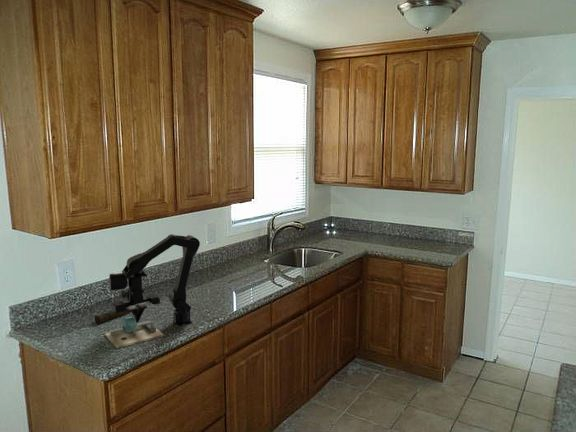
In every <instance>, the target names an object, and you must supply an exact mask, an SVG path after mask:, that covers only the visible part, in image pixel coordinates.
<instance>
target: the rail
mask: <svg viewBox="0 0 576 432" xmlns="http://www.w3.org/2000/svg"><path fill="white" fill-rule="evenodd" d="M150 323H152V321H150V320H146V321H142V322H138V323H137V326H136V330H140V329H144V328H145V325H146V324H150ZM108 333H110V336H111V337H112V336H116V335H120V334H124V333H126V331H125V327H123V326H121V327H118V328H114V329H111V330H110V329H109V332H108Z"/></svg>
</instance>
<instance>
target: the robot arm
mask: <svg viewBox="0 0 576 432" xmlns="http://www.w3.org/2000/svg"><path fill="white" fill-rule="evenodd" d="M174 246H178V247H182V257H181V262H180V267H179V271H178V274H177V278H176V283H175V286H174V288H170V289H169V295H168V296H167V298H168V301H169V303H170V305H172V307H173V308H174V310H173V314H172V316H173V317H172V318H173V320H172V322H173V323H174V324H175V325H177V326H178V327H181V326H184V325H185V326H186V325H189V324H192V323H193V321H192V320H191V309H192V306H191V305H190V304H189V303H188V302H187V290H186V289H187V285H188V281H189V280H188V279H189V277H190V276H189V275H190V272H191V268H192V264H193V260H194V259H193V258H194V257H195V255H196V254H197V253H198V251H199V248H200V246H201V241H199V239H198V238H196V237H195V236H194V235H189V234H188V235H186V236H185V235H177V234H168V236H167V237H165V238H164V239H162V240H160V241H159V242H158V243H156V244H155V245H153V246H151V247H150V248H148V249H147V250H145V251H143V252H140V253H137V254H135V255H133V256H130V257H129V258H128V259H127V260H126V265H125V267H123V269H122V271H121V272H120V273H109V276H108V277H109V278H108V289H109V291H110V292H113V291H118V290H120V291H119V295H120V299H124V300H125V301H127V302H123V301H122V300H120V301H115V302H113V303H112V304H111V309H112V311H113V310H114V311H115V312H116V313H119V312H123V311H125V310H126V308H127V309H128V310H129V311H130V313H131V314H132V317H133V318H134V319H135V322H136V323H137V324H138V323H140V320H141V319H142V318H141V317H142V315H143V313H144V312H145V309H148V306H147V304H148V303H150V304H152V306H155V305H159V304H160V303H161V299H160V297H159V296H158V295H156V294H155V293H153V294H149V295H146V297H145V298H144V293H145V290H144V285H143V283H144V282H143V281H144V280H143V279H144V278H145V277H148V274H147V273H146V271H144V269H145V268H146V267H147V266H148V264H149V263H150V262H151V261H152V260H153V259H155V258H157V257H159V256H160V255H161V254H163V253H164V252H166V251H168V249H171V247H174ZM127 287H128V288H127ZM126 288H127V291H126V290H125V289H126Z"/></svg>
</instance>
